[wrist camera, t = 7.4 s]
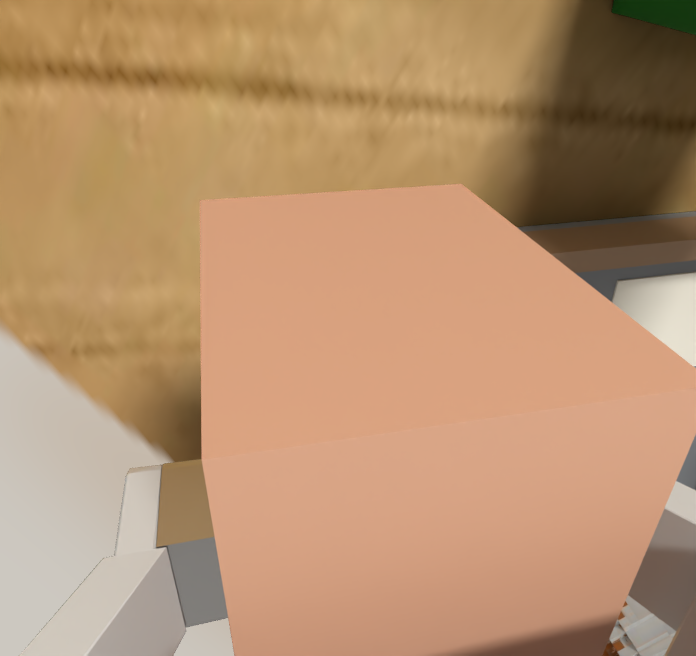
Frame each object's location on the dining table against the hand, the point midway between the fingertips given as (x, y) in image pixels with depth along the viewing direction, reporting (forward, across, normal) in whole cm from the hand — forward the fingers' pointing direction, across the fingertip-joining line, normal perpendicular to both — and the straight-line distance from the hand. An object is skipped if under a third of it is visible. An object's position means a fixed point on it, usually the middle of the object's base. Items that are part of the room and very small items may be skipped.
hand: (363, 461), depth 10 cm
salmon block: (+2, 0, 0) cm, 2 cm away
